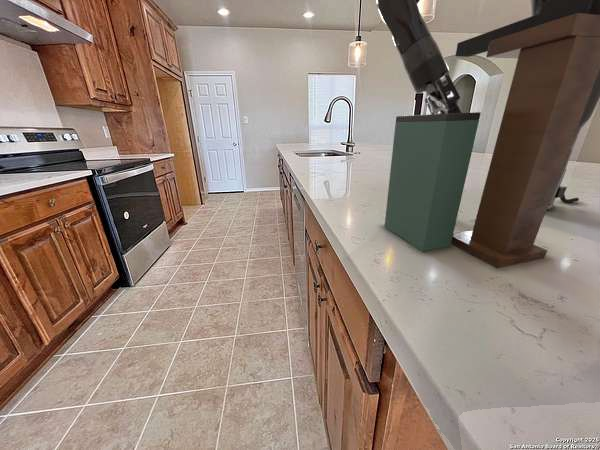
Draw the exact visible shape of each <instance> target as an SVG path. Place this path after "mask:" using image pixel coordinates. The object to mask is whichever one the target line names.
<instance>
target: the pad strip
mask: <svg viewBox="0 0 600 450" xmlns="http://www.w3.org/2000/svg"><path fill="white" fill-rule="evenodd" d="M576 13H582V14H593V15H600V0H547V1H544V2H543V3H542V6H541V10H540V14H537V15H534V16H532V15H531V16H529V17H525V18H524V19H520V20H518V21H515V22H512V23H510V24H507V25H504V26H501V27H498V28H496V29H493V30H490V31H487V32H484V33H481V34H479V35H476V36H473V37H471V38H468V39H465V40H462V41H459V42H457V44H456V51H455V55H454V56H455V57H458V58H459V57H460V58H461V57H463V58H469V57H472V56H477V55H480V54H484V53H487V52H488V47H489V42H490V41H492V40H495V39H498V38H502V37H505V36H508V35H511V34H514V33H517V32H520V31H523V30H526V29H529V28H532V27H536V26H539V25H542V24H545V23H548V22H551V21H554V20H557V19H560V18H563V17H566V16H570V15H573V14H576Z"/></svg>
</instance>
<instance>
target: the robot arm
mask: <svg viewBox="0 0 600 450" xmlns="http://www.w3.org/2000/svg"><path fill="white" fill-rule="evenodd" d="M420 1H421V0H375V3H376V7H377V10H378V12H379V14H380V18H381V19H382V21H383V23H385V25H386V26H387V28H388V31H389V33H390V34H391V36H392V40H393V43H394V46H395V48H396V51H397V52H398V55H399V57H400V59H401V62H402V64H403V68H404V70H405V73H406V75H407V77H408V79H409V81H410V83H411V85H412V87H413V89H414V91H415V93H416V94H421V93H424V92H426V95H427V97H426V98H424V102H425V104H426V106H427V108H428V111H429V113H430V114H447V113H462V111H461V108H460V107H459V103H460V102H459V100H461V96H460V94H459V92H458V90H457V88H456V86H455V84H454V82H453V80H452V78H451V75H450V69H449V65H448V64H447V62H446V60H445V57H444V56H443V54H442V51H441V49H440V47H439V45H438V43H437V41H436V40H435V39H434V37H433V35H432V34H431V32H430V29H429V27H428V25H427V23H426V21H425V20H424V18H423V16H422V14H421V12H420V9H419V6H418V3H419V2H420ZM544 1H547V0H530V11H531V12H530V14H531V16H534V15H537V14H540V10H541V6H542V3H543V2H544ZM599 101H600V70H599V72H598V75H597V78H596V80H595V83H594V85H593V88H592V91H591V93H590V96H589V99H588V101H587V104H586V107H585V109H584V112H583V115H582V117H581V120H580V122H579V125H578V128H577V130H576V133H575V136H574V138H573V141H572V144H571V146H570V149H569V152H568V154H567V157H566V160H565V162H564V165H563V167H562V170H561V173H560V175H559V178H558V181H557V183H556V186H555V189H554V191H553V194H552V197H551V199H550V202H549V204H548V207H547V210H546V211H548V210H551V209H552V207H553V205H554V203H555V200H556V199H559V200H560V201H561V202H562V203H564V204H570V203H571V204H572V203H575V202H578V201H579V200H580V198H579V197H573V198H569V199H568V198H566V195H565V193H566V191H567V189H568V186H562V182H563V180H564V177H565V175H566V171H567V167H568V164H569V161H570V158H571V156H572V154H573V151H574V148H575V145H576V142H577V140H578V138H579V135H580V133H581V130H582V128H583V127H584V126H585V125H586V124H587V123H588V121H589V120H590V119H591V118H592V116H593V114H594V112H595V110H596V107H597V105H598V103H599Z"/></svg>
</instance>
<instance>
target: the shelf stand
mask: <svg viewBox="0 0 600 450" xmlns="http://www.w3.org/2000/svg"><path fill="white" fill-rule="evenodd" d="M486 58H493V59H517V61H516V64H515V69H514V72H513V76H512V80H511V84H510V87H509V92H508V95H507V99H506V103H505V105H504V111H503V115H502V118H501V121H500V125H499V129H498V133H497V137H496V141H495V145H494V148H493V152H492V156H491V160H490V163H489V167H488V170H487V175H486V179H485V183H484V186H483V190H482V194H481V198H480V201H479V205H478V206H479V207H478V209H477V214H476V217H475V221H474V224H473V229H471V230H466V231H459V232H453V237H452V241H451V245H452V246H455V247H457V248H458V249H461V250H462V251H464V252H466V253H468V254H470V255H471V256H474V257H475V258H477V259H479V260H481V261H483V262H485V263H486V264H489V265H490V266H492V267H494V268H496V269H500V268H505V267H510V266H514V265H518V264H523V263H527V262H532V261H536V260H541V259H545V258H546V256H547V253H548V249H546V248H543V247H541V246H538V245H536V244H535V241H536V239H537V236H538V233H539V230H540V228H541V226H542V222H543V221H544V218H545V215H546V212H547V211H548V210H547V207H548V204H549V202H550V199H551V197H552V194H553V191H554V189H555V186H556V183H557V181H558V178H559V175H560V173H561V170H562V167H563V165H564V162H565V160H566V157H567V154H568V152H569V149H570V146H571V144H572V141H573V138H574V136H575V133H576V130H577V128H578V125H579V122H580V120H581V117H582V115H583V112H584V109H585V107H586V104H587V101H588V99H589V96H590V93H591V91H592V88H593V85H594V83H595V80H596V78H597V75H598V72H599V70H600V15H593V14H582V13H576V14H573V15H570V16H566V17H563V18H560V19H557V20H554V21H551V22H548V23H545V24H542V25H539V26H536V27H532V28H529V29H526V30H523V31H520V32H517V33H514V34H511V35H508V36H505V37H502V38H498V39H495V40H492V41H490V42H489V47H488V51H487V52H486Z"/></svg>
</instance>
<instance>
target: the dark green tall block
mask: <svg viewBox="0 0 600 450" xmlns="http://www.w3.org/2000/svg"><path fill="white" fill-rule="evenodd" d="M481 114H482V112H479V111H477V112H476V111H475V112H461V113H447V114H431V113H430V114H413V115H398V116H395V124H394V132H393V133H394V135H393V142H392V151H391V152H392V153H391V162H390V172H389V181H388V192H387V199H386V209H385V218H384V228H386V230H389V231H390V232H392V233H393V234H395V235H396V236H398V237H400V238H401V239H402V240H404V241H406V242H407V243H409V244H410V245H412V246H413V247H415V248H416V249H418V250H419V251H421V252H429V251H434V250H439V249H445V248H449V247H451V246H452V244H451V241H452V237H453V233H455V226H456V225H457V224H456V223H457V218H458V215H459V210H460V206H461V203H462V197H463V193H464V190H465V189H464V188H465V184H466V181H467V176H468V172H469V168H470V167H469V166H470V162H471V158H472V154H473V149H474V145H475V140H476V136H477V132H478V127H479V123H480V117H481Z"/></svg>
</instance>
